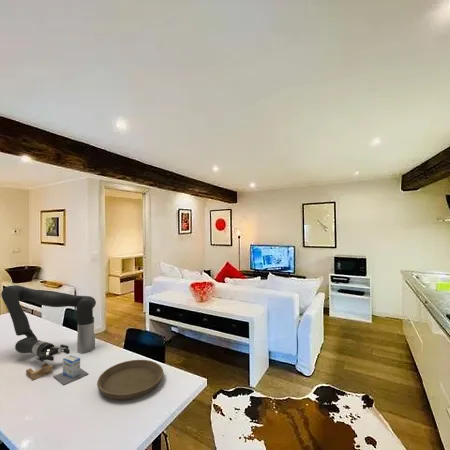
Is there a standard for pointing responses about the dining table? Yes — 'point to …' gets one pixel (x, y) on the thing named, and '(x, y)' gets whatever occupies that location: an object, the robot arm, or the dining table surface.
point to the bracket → (39, 371)
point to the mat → (66, 379)
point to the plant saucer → (130, 379)
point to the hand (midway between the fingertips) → (61, 355)
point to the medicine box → (71, 366)
